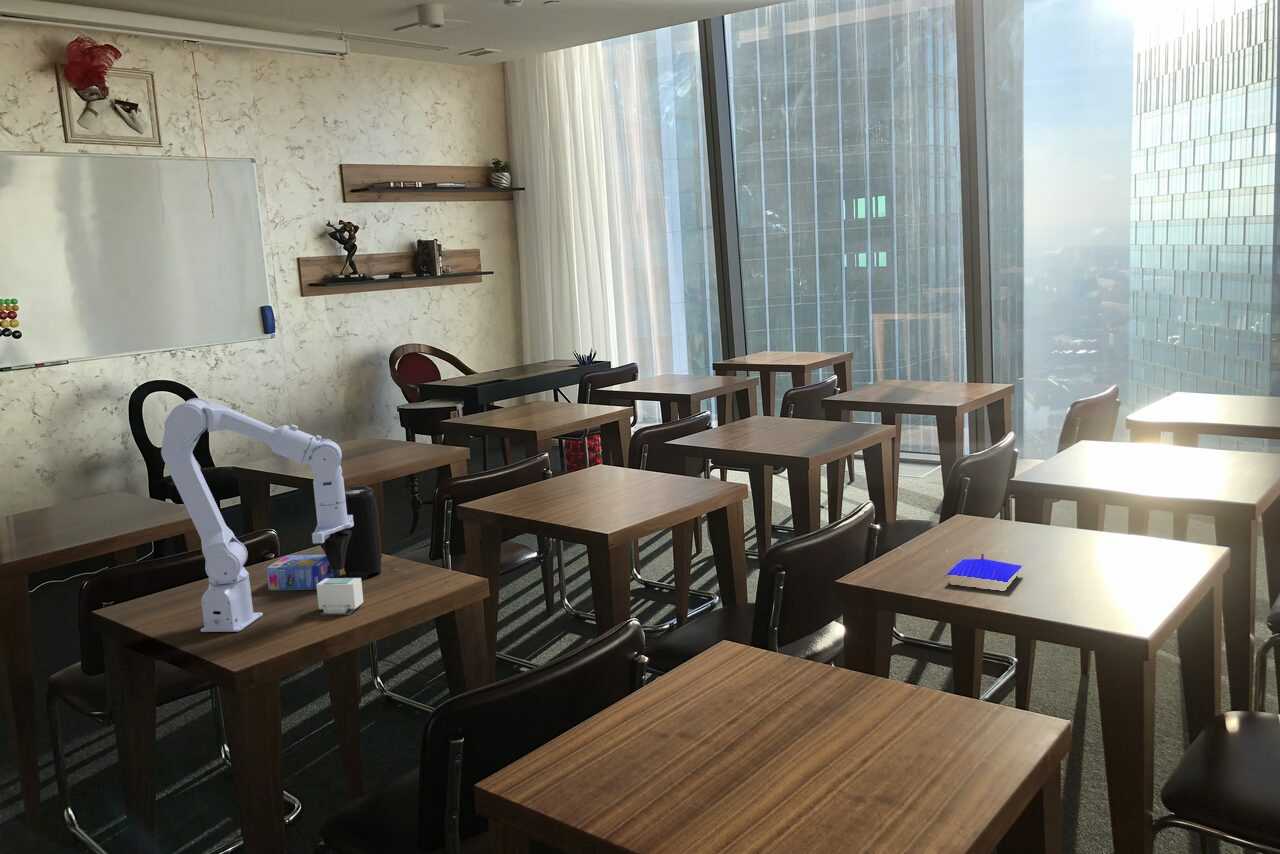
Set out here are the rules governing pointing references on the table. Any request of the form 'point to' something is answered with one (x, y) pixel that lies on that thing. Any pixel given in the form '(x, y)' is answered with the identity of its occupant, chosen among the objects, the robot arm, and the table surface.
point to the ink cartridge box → (299, 572)
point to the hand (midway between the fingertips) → (337, 568)
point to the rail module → (340, 592)
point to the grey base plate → (337, 610)
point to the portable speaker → (363, 533)
